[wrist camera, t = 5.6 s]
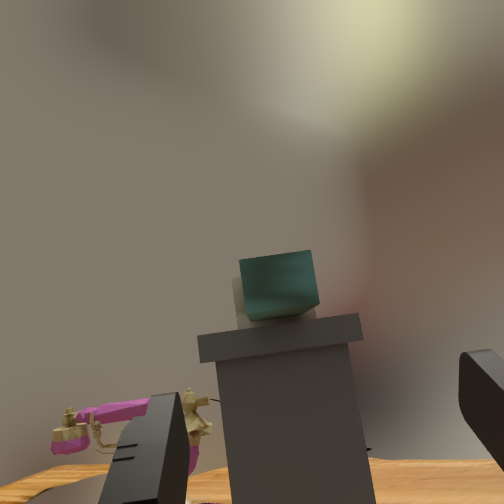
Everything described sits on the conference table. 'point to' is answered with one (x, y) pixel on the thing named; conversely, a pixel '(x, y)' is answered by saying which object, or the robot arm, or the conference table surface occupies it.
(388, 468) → the conference table surface
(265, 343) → the pedestal
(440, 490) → the conference table surface
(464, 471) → the conference table surface
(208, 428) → the telephone
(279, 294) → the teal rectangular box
